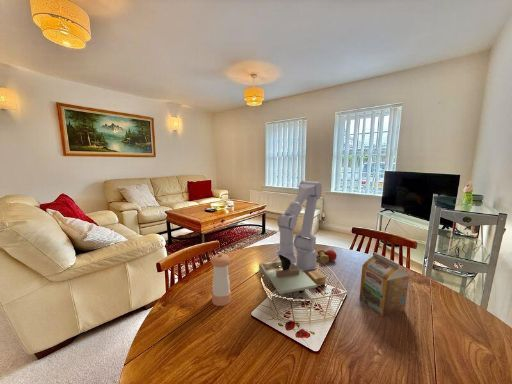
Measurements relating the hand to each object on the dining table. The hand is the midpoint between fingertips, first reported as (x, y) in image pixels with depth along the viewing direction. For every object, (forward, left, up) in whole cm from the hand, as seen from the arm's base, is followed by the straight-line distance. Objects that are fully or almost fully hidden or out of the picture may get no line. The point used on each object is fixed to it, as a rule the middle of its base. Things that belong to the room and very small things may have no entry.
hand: (285, 271), depth 94 cm
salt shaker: (+29, +4, -6) cm, 30 cm away
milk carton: (-29, +24, -6) cm, 38 cm away
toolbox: (0, -6, -6) cm, 8 cm away
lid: (0, +5, -2) cm, 5 cm away
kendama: (-27, -14, -6) cm, 31 cm away
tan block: (-13, +4, -6) cm, 15 cm away
